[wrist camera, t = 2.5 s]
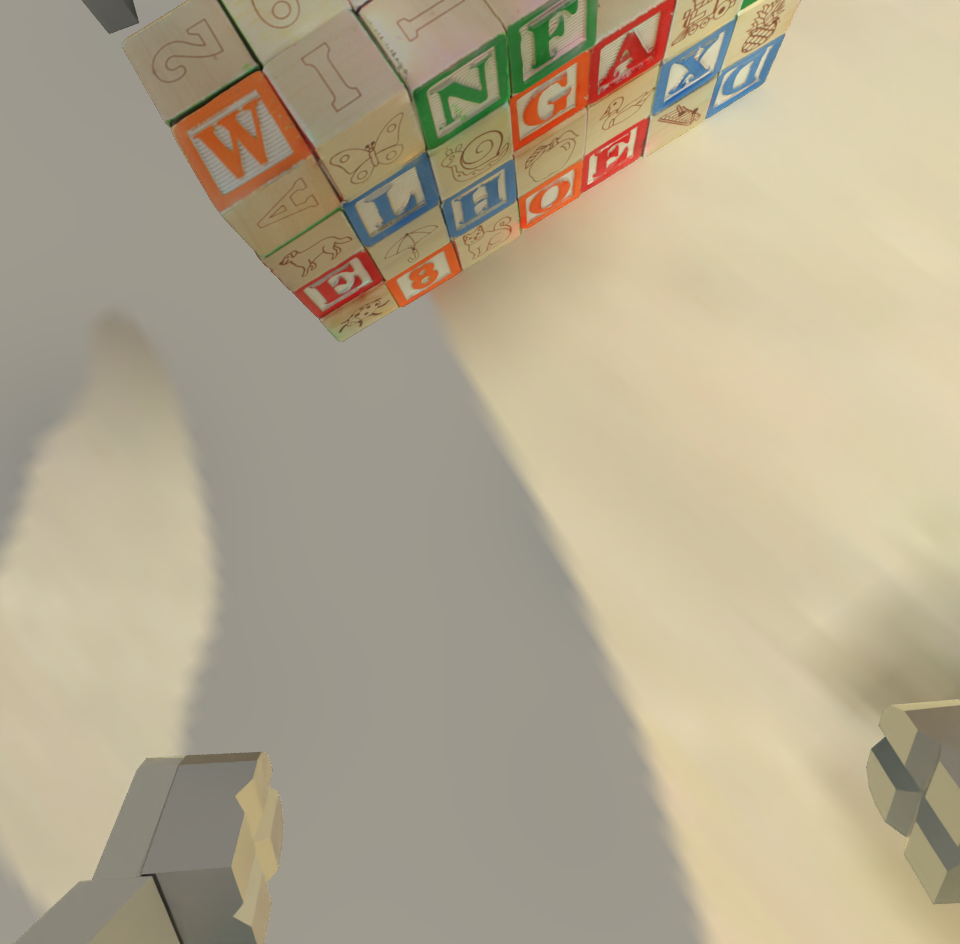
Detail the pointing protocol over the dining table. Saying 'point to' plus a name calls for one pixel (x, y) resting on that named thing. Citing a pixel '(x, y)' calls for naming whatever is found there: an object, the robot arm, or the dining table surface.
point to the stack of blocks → (429, 121)
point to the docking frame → (113, 13)
